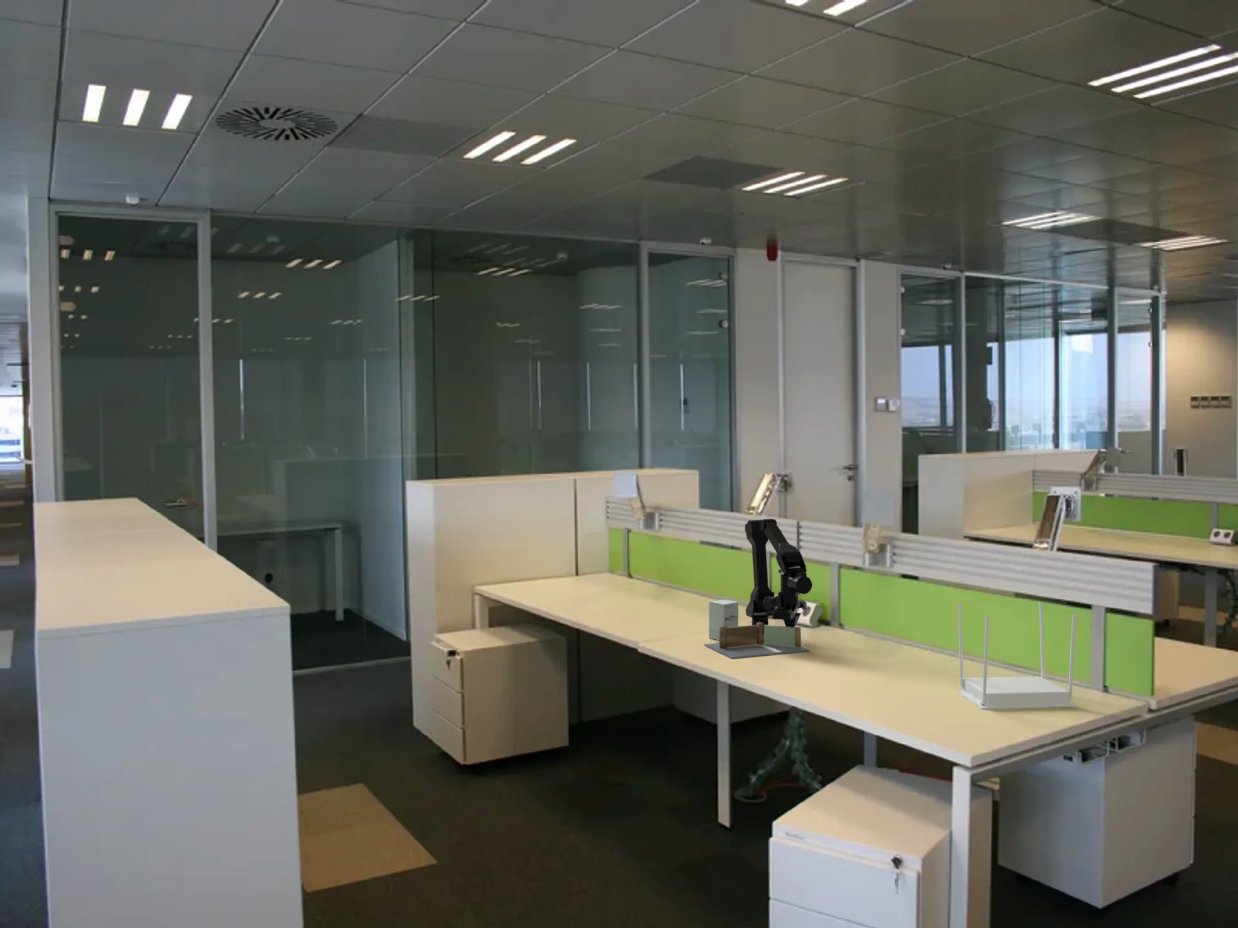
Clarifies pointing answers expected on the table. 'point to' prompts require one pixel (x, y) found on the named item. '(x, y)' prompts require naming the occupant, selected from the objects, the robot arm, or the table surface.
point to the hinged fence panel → (782, 635)
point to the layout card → (755, 650)
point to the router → (1015, 681)
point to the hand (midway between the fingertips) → (789, 635)
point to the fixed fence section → (741, 635)
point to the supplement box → (722, 616)
